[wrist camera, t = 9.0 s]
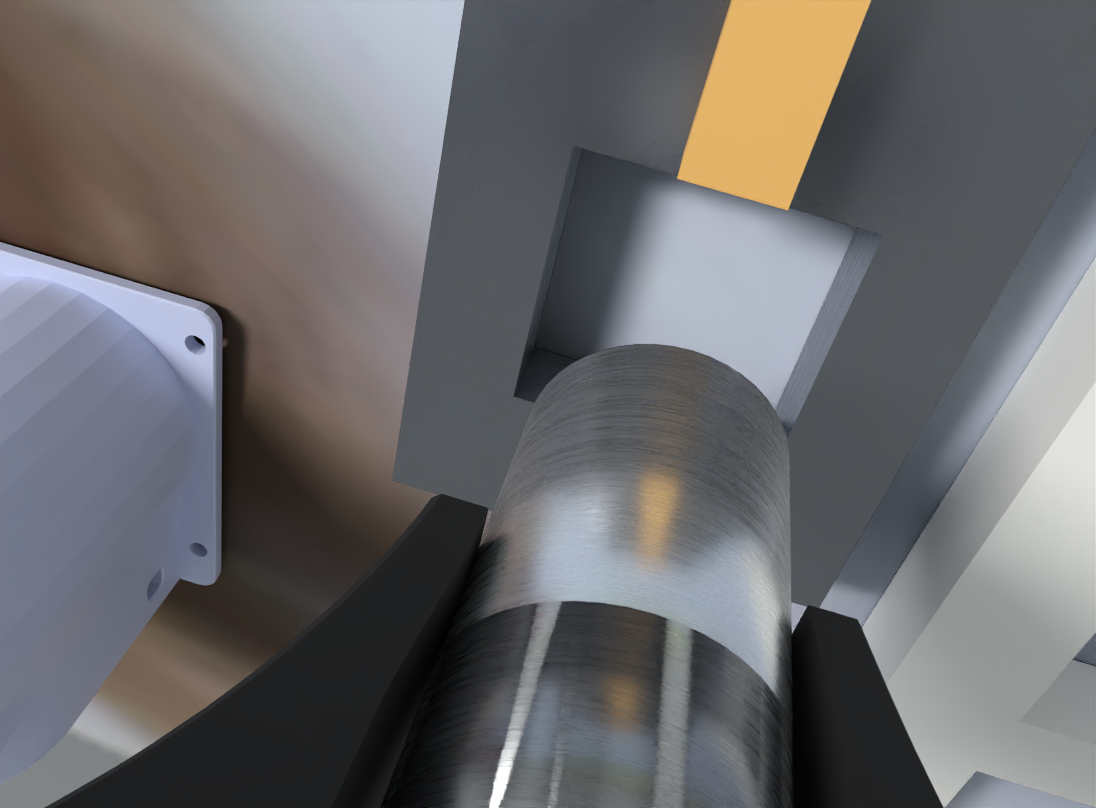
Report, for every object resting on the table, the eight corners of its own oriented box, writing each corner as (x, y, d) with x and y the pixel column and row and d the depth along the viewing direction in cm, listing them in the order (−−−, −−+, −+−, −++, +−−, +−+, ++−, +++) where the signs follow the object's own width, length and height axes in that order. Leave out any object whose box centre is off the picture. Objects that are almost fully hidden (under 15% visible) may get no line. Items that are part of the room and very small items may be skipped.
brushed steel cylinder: (737, 584, 15) (706, 1180, 9) (504, 513, 16) (308, 1048, 9) (831, 391, 13) (882, 1011, 7) (555, 310, 13) (342, 838, 7)
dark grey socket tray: (815, 548, 23) (817, 609, 21) (419, 429, 23) (392, 480, 21) (1353, -442, 12) (1442, -472, 10) (596, -632, 12) (569, -690, 11)
